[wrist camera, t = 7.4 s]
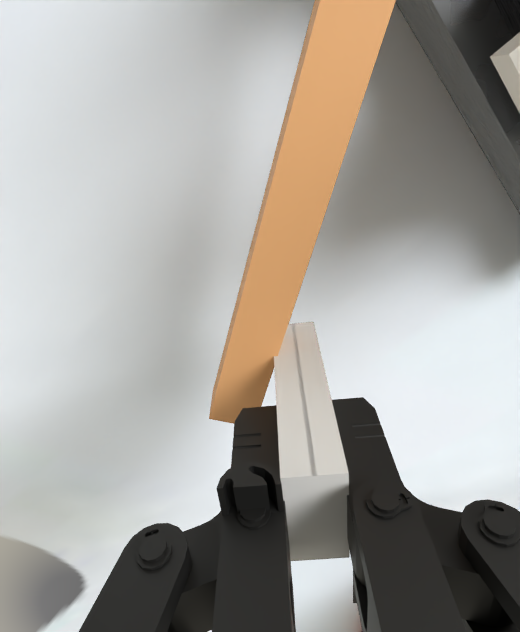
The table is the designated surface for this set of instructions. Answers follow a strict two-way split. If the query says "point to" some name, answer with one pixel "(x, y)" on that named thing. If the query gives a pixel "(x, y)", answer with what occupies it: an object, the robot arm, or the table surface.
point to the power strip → (474, 71)
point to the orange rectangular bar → (298, 192)
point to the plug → (509, 67)
